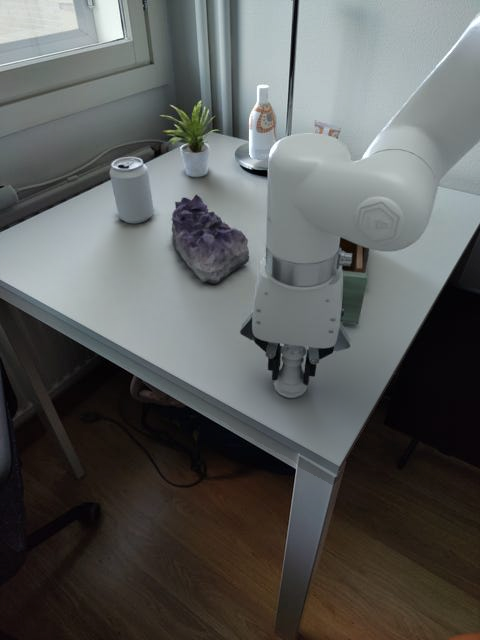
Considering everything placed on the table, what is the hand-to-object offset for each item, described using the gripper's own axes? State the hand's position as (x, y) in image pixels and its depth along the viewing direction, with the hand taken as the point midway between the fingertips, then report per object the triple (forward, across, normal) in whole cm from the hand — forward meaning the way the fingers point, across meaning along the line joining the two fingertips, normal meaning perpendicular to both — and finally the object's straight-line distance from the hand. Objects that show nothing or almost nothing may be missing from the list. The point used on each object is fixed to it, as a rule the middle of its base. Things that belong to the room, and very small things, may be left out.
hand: (291, 373), depth 61 cm
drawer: (+2, -3, -18) cm, 18 cm away
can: (+3, +38, -41) cm, 56 cm away
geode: (+3, +20, -29) cm, 35 cm away
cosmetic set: (+3, +8, -66) cm, 67 cm away
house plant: (+3, +32, -66) cm, 73 cm away
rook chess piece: (+3, 0, 0) cm, 3 cm away
